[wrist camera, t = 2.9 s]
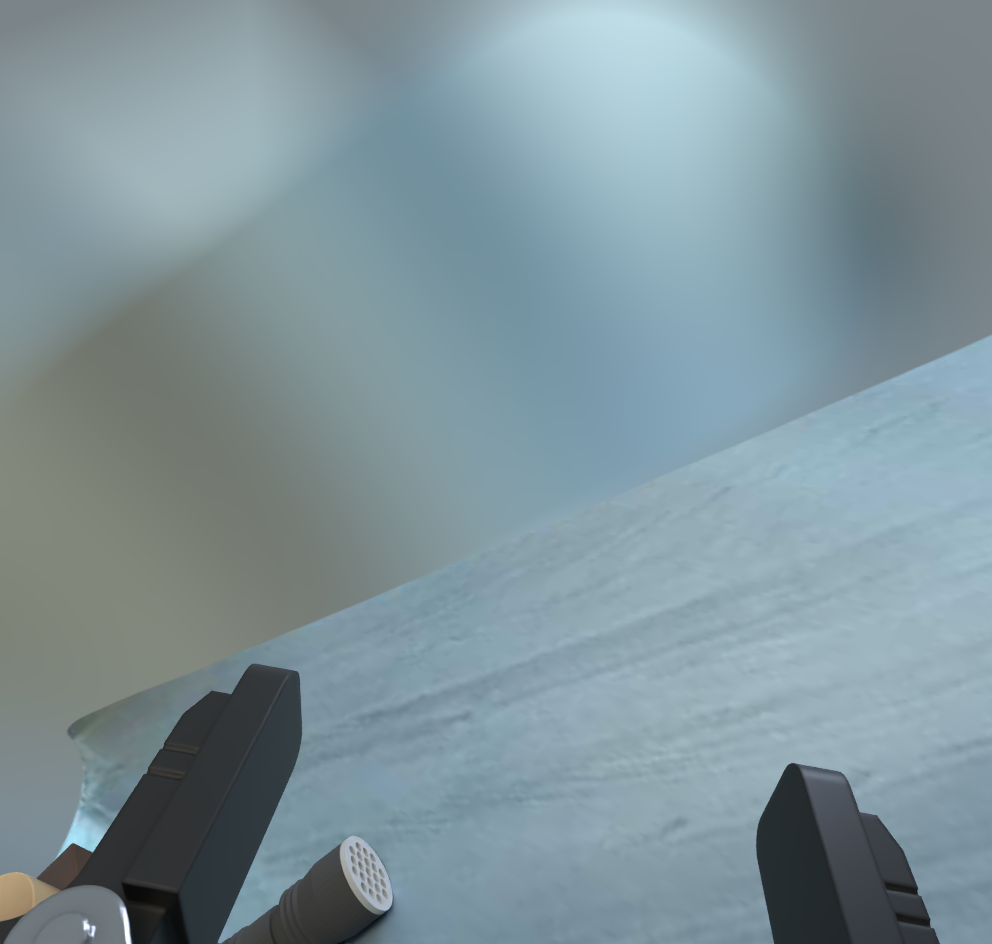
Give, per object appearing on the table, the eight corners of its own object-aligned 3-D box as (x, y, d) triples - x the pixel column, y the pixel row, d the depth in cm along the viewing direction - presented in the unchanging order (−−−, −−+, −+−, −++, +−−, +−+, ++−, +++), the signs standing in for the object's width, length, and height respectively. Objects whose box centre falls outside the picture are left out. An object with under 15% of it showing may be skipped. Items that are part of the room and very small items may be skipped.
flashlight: (219, 1061, 48) (160, 1041, 45) (218, 980, 52) (165, 957, 49) (399, 921, 48) (353, 893, 45) (383, 853, 53) (339, 823, 50)
